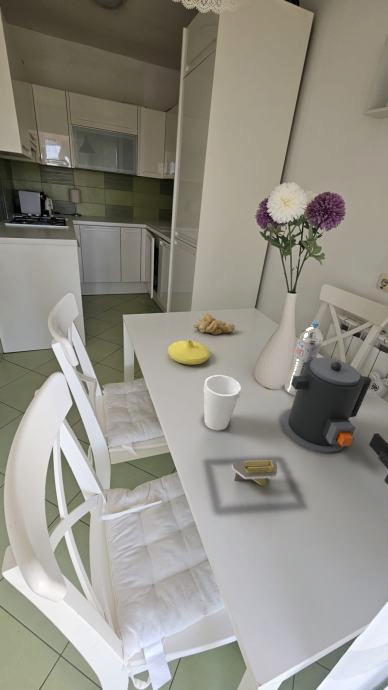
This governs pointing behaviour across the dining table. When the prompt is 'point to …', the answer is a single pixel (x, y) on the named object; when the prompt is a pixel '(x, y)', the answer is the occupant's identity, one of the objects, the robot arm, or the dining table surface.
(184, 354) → the yellow knobbed round disc
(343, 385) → the kettle
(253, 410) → the dining table surface
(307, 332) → the water bottle
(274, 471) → the platform
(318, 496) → the dining table surface
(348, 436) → the kettle switch
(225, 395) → the foam cup
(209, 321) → the ginger root
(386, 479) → the robot arm
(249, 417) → the dining table surface
